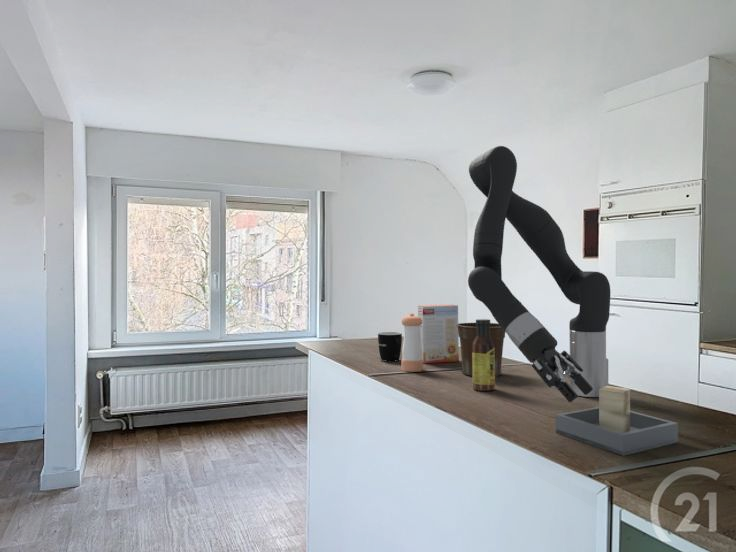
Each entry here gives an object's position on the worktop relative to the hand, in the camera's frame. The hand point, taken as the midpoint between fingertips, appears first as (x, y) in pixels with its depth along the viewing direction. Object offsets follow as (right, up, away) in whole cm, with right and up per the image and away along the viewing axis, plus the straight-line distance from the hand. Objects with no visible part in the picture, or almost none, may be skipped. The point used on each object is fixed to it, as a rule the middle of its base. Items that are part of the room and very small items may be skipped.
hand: (582, 395), depth 114 cm
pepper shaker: (-30, -7, +70) cm, 76 cm away
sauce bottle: (-12, -7, +40) cm, 42 cm away
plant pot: (-8, -7, +62) cm, 63 cm away
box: (+5, -7, -4) cm, 10 cm away
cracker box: (-19, -7, +86) cm, 88 cm away
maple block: (+5, -7, -5) cm, 9 cm away
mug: (-36, -7, +88) cm, 95 cm away
